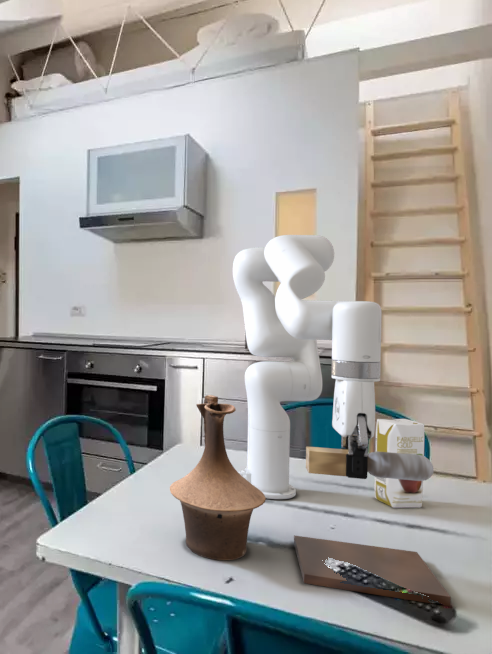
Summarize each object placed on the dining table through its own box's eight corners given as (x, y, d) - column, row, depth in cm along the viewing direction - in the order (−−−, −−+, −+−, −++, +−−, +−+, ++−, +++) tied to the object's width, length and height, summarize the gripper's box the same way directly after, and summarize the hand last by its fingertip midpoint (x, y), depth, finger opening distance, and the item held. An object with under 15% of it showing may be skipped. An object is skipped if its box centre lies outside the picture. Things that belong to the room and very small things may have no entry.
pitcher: (160, 526, 110) (162, 389, 109) (245, 528, 109) (248, 390, 109) (179, 568, 92) (181, 404, 92) (280, 570, 92) (283, 406, 91)
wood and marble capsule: (309, 474, 96) (309, 449, 96) (305, 467, 100) (305, 443, 100) (437, 485, 91) (438, 459, 90) (427, 477, 95) (428, 452, 95)
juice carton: (369, 497, 128) (371, 417, 128) (403, 496, 129) (405, 417, 129) (392, 509, 121) (394, 424, 120) (428, 508, 122) (430, 424, 121)
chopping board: (303, 583, 88) (304, 574, 88) (293, 543, 103) (293, 535, 103) (450, 606, 81) (451, 596, 81) (416, 560, 96) (417, 551, 96)
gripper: (323, 365, 105) (321, 460, 105) (342, 375, 89) (340, 486, 89) (367, 367, 103) (365, 464, 103) (394, 377, 87) (392, 491, 87)
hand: (353, 473), depth 96 cm, fingers closed on wood and marble capsule, 3 cm apart
